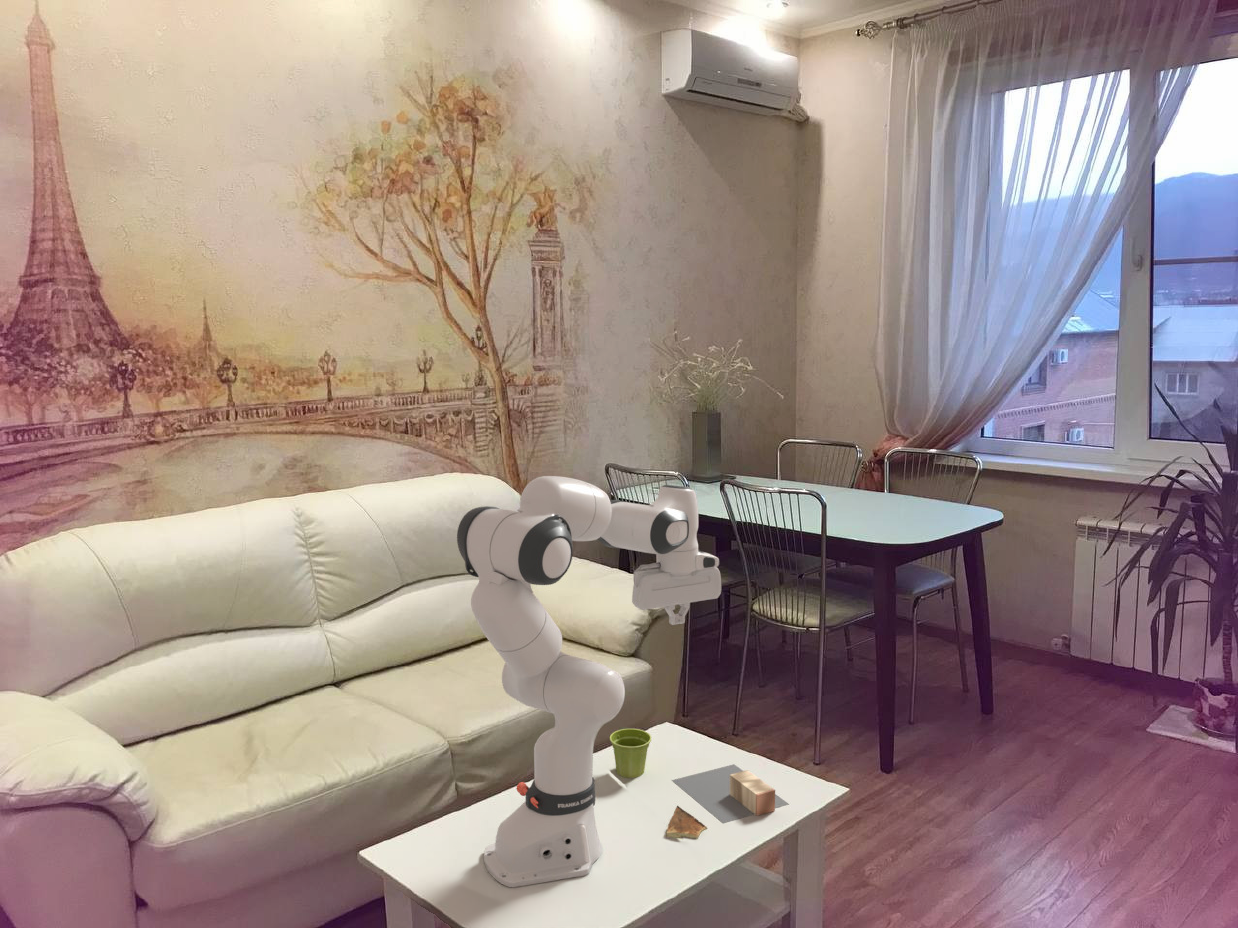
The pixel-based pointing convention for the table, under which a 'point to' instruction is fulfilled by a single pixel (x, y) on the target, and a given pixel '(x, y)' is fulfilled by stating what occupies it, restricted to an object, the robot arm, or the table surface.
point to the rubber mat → (718, 793)
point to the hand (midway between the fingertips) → (677, 623)
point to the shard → (684, 825)
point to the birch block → (752, 792)
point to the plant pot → (630, 751)
